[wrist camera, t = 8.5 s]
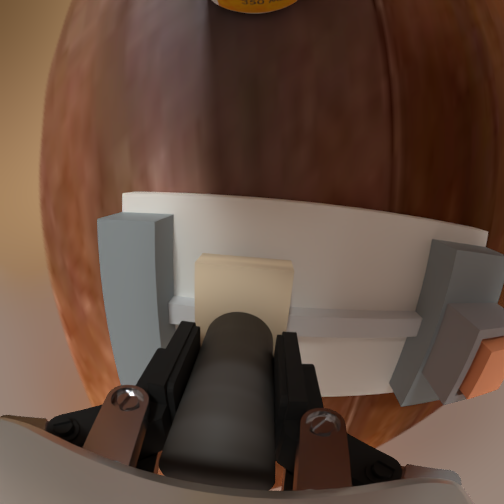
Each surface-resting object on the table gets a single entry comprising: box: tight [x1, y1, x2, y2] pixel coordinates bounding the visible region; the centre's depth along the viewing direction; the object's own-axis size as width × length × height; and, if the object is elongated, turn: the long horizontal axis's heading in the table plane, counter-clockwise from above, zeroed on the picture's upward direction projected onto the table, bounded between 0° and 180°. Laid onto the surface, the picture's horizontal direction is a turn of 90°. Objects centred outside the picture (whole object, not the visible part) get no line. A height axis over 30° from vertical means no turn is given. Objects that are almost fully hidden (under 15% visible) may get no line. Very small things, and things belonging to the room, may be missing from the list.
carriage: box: [158, 253, 294, 491], centre depth 10 cm, size 7×4×9 cm, turn 176°
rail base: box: [97, 192, 504, 407], centre depth 13 cm, size 12×22×7 cm, turn 86°
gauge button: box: [459, 336, 504, 399], centre depth 10 cm, size 3×3×4 cm
